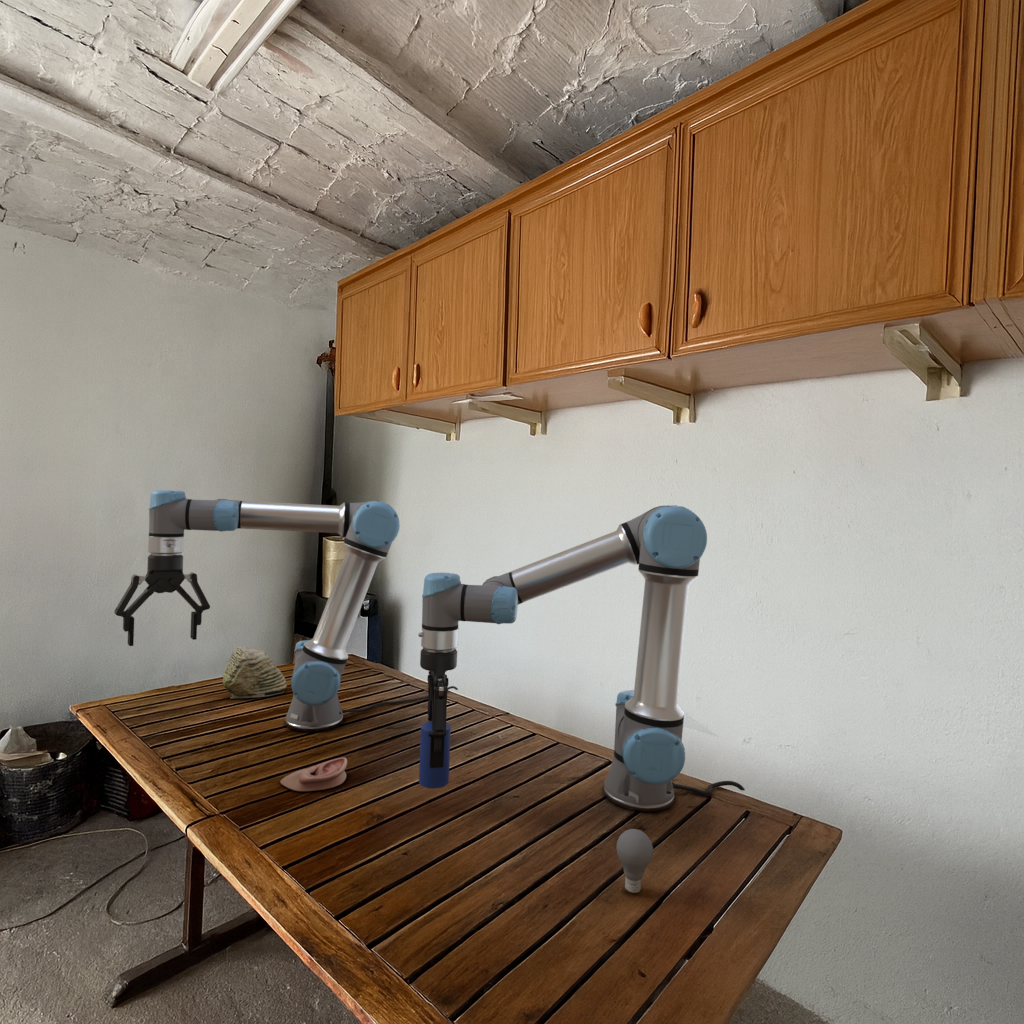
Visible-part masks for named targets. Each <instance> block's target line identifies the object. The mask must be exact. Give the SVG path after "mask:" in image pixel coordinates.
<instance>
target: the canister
mask: <svg viewBox="0 0 1024 1024" xmlns="http://www.w3.org/2000/svg"><path fill="white" fill-rule="evenodd" d="M431 732H432V721H426V722H423V723H422V724H421V725H420V740H419V741H420V742H419V766H418V767H419V769H418V784H419V785H420V786H421V787H422V788H426V789H440V788H444V787H447V785H448V784H449V781H450V758H451V732H452V725H451V724H450V723H449V722H447V721H446V736H444V762H443V767H439V768H430V740H431V737H428V733H431Z"/></svg>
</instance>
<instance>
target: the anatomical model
mask: <svg viewBox="0 0 1024 1024" xmlns="http://www.w3.org/2000/svg"><path fill="white" fill-rule="evenodd" d="M347 766H348V758H347V757H343V756H342V757H338V758H334V759H330V760H327V761H326V760H325V761H324V762H320V763H318V764H316V765H313V766H310V767H307V768H303V769H299V770H296V771H294V772H292V773H290V774H288V775H286V776H284V777H282V779H280V782H279V783H280V785H282V786H283V787H285V788H286V789H289V790H292V791H295V792H312V791H313V792H314V791H322V790H327V789H331V788H335V787H338V786H341V785H342V784H343V783H344V782H345V781H346V779H347V773H346V771H345V770H346V769H347Z"/></svg>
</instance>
